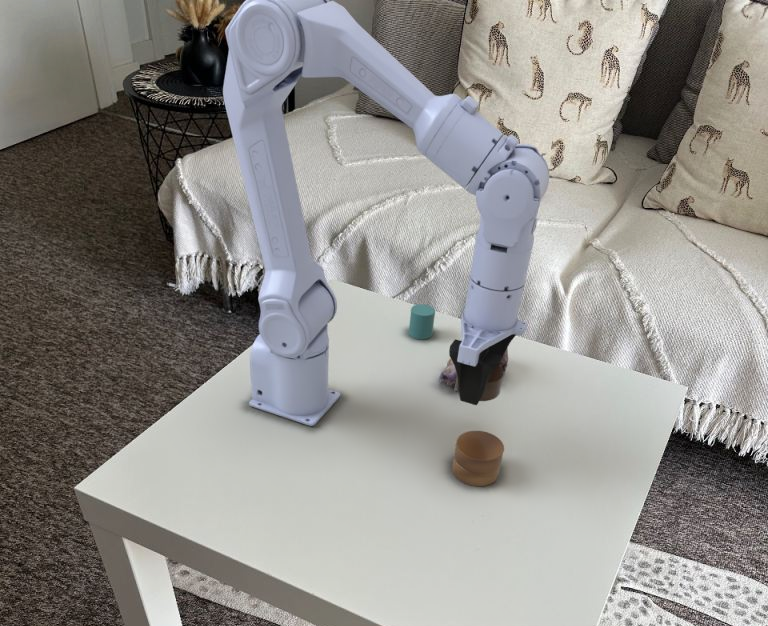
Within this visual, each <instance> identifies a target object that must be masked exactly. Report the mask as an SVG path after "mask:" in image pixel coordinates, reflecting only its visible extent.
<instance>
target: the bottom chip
mask: <svg viewBox="0 0 768 626" xmlns="http://www.w3.org/2000/svg"><path fill="white" fill-rule="evenodd" d="M500 469H501V465H500V466H499V467H498V469H496V470H495V471H492V472H489V473H474V472H470V471H467V470H465V469H464V468H462V467H461V466H459V465H458V463H457V462H456V460H455V457H454V456H453V459H452V466H451V471H452V475H453V476H454V477H455V478H456V479H457V481H459V482H461V483H463V484H465V485H468V486H470V487H471V486H473V487H485V486H489V485H491V484H493V483H495V482H496V481H497V479H498V477H499V474H500Z"/></svg>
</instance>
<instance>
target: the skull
mask: <svg viewBox="0 0 768 626" xmlns="http://www.w3.org/2000/svg"><path fill="white" fill-rule="evenodd" d="M508 348H509V346H508V347H507V350H506V352H505V354H504V356H503V359H502V361H501V364H500V366H501V368H502V369H503V371H504V373H505V372H506V369H507V367H508V362H509V350H508ZM456 380H457V372H456V369H455V366H454V363H453V361H452V359H451V358H449V359H448V361H447V362H446V367H444V369H443V370H442V371H441V373H440V375H439V376H438V383H441V382H442V381H443V382H444V383H446V385H447V386H450V387H451V386H452V385H453V384H454V388H453V391H454V392H456V391H457V390H456Z"/></svg>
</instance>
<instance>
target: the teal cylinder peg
mask: <svg viewBox="0 0 768 626" xmlns="http://www.w3.org/2000/svg"><path fill="white" fill-rule="evenodd" d="M435 316H436V309H435V308H434V307H433V306H431V305H430V304H425V303H418V304H414V305H412V307H411V308H410V316H409V326H408V327H409V328H408V334H409V336H410V337H411V338H413V339H415V340H420V341H421V340H422V341H423V340H428V339H431V337H433V334H434V333H433V332H434V324H435Z"/></svg>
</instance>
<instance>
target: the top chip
mask: <svg viewBox="0 0 768 626" xmlns="http://www.w3.org/2000/svg"><path fill="white" fill-rule="evenodd" d="M504 452H505V445H504V443H503V441H502V440H501V439H500V438H499V437H498V436H496V435H495V434H493V433H491V432H488V431H483V430H469V431H465V432H463V433H462V434H460V435H459V436H458V437H457V438H456V443H455V449H454V455H453V458H454V457H455V460H456V462H457V463H458V465H459V466H461V467H462V468H464V469H465V470H467V471H470V472H474V473H489V472H492V471H495V470H496V469H498V467H499V466H500V467H501V465H502V460H503V457H504Z"/></svg>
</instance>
